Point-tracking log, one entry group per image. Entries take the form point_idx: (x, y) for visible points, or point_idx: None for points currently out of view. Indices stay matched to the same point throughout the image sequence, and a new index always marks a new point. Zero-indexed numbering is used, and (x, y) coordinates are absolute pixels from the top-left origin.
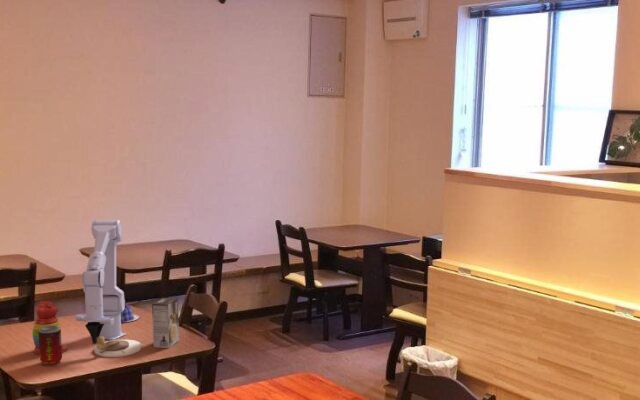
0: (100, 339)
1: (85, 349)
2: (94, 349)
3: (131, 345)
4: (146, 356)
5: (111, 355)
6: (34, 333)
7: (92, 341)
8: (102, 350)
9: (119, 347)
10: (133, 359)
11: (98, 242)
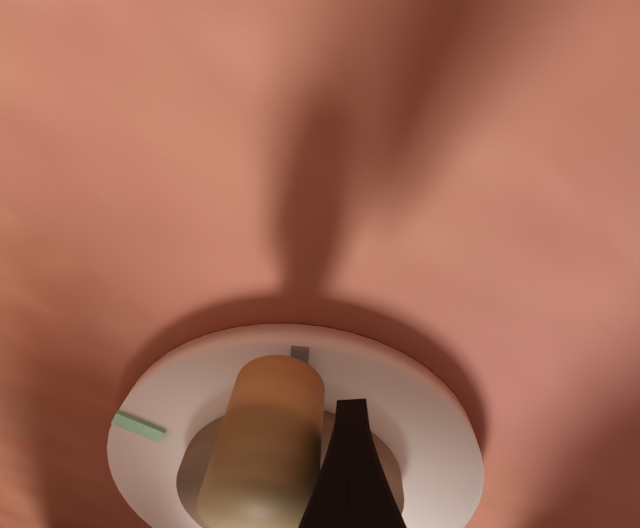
0: (210, 473)
1: (563, 392)
2: (424, 386)
3: None
4: (5, 438)
5: (186, 351)
6: None
7: (365, 421)
8: (331, 393)
9: (189, 463)
10: (5, 369)
11: None
